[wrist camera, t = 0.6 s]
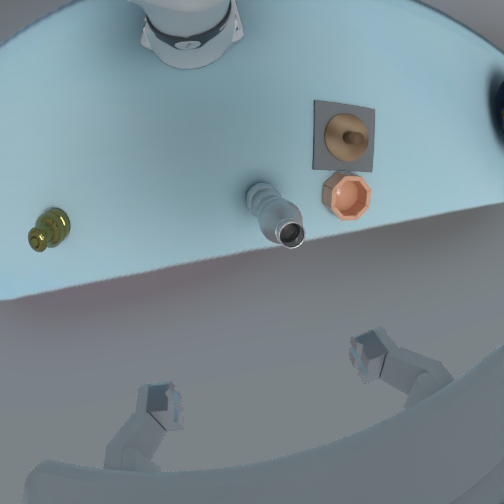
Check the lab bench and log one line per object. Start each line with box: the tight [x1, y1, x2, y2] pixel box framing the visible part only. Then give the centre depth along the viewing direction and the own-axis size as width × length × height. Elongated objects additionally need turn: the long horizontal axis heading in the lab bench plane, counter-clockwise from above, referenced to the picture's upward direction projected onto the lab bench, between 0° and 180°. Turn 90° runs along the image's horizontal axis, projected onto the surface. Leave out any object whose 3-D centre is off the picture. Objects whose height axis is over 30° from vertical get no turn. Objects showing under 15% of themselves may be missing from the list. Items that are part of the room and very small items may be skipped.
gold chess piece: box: [28, 208, 70, 252], centre depth 42 cm, size 7×7×10 cm
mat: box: [313, 100, 375, 172], centre depth 49 cm, size 14×14×1 cm
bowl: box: [322, 172, 371, 220], centre depth 52 cm, size 9×9×4 cm
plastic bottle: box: [246, 183, 305, 249], centre depth 43 cm, size 6×7×20 cm
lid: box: [324, 113, 369, 162], centre depth 47 cm, size 10×10×5 cm
